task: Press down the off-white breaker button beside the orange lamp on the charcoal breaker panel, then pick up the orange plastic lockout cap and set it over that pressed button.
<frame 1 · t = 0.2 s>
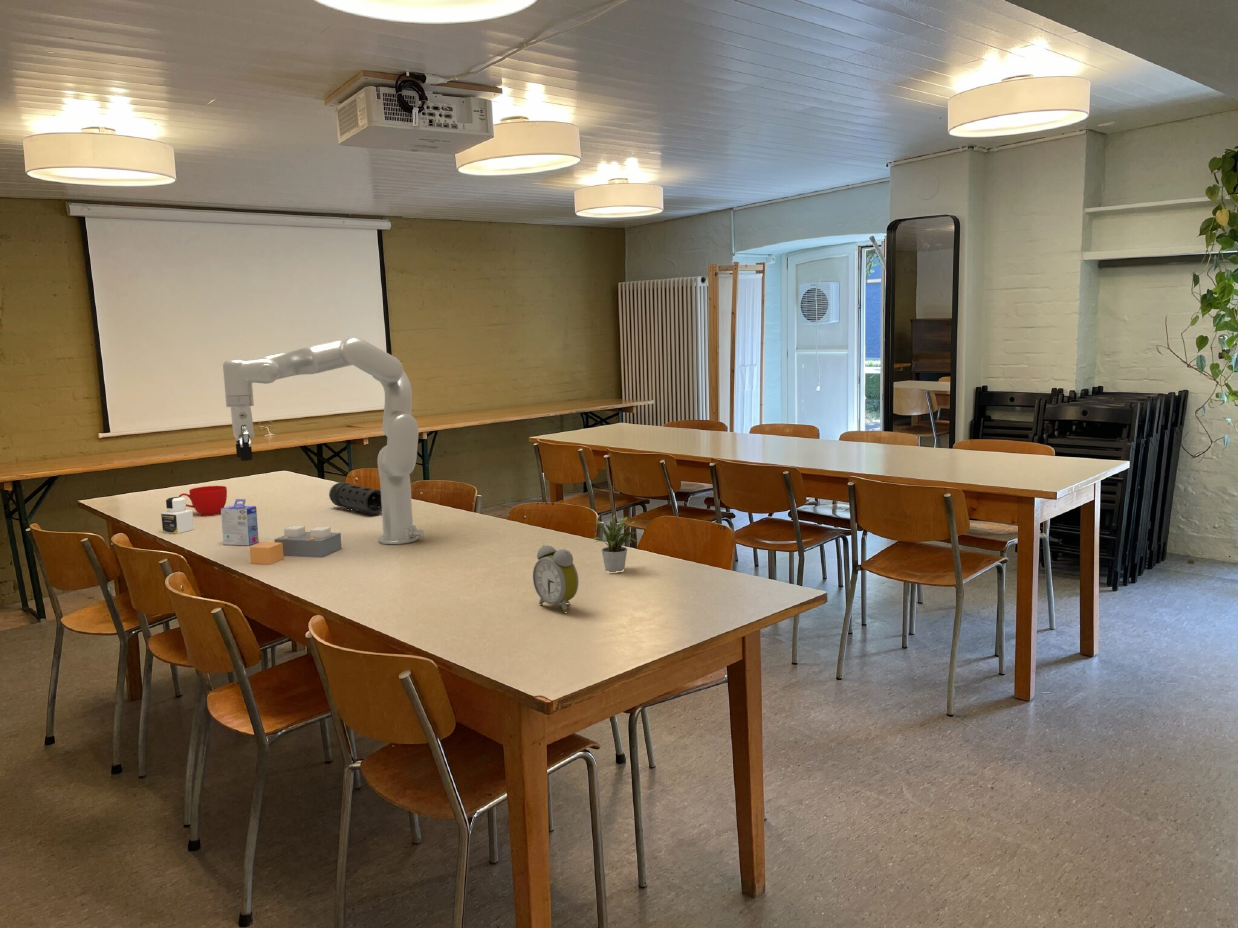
hand: (244, 458, 258), 31 cm above the table, tool pointing down, fingers open, 9 cm apart
medicine bottle: (178, 531, 303), on the table
house plant: (611, 572, 240), on the table
breaker panel: (309, 551, 270), on the table
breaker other: (295, 533, 270), point 6 cm above the table, slide at 0.0 cm
alarm clock: (558, 608, 209), on the table
ink cartridge box: (241, 544, 283), on the table
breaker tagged: (320, 534, 268), point 5 cm above the table, slide at 0.0 cm
ceramic cup: (204, 515, 332), on the table
muzzle brake: (357, 512, 332), on the table
lockout cap: (267, 561, 259), on the table
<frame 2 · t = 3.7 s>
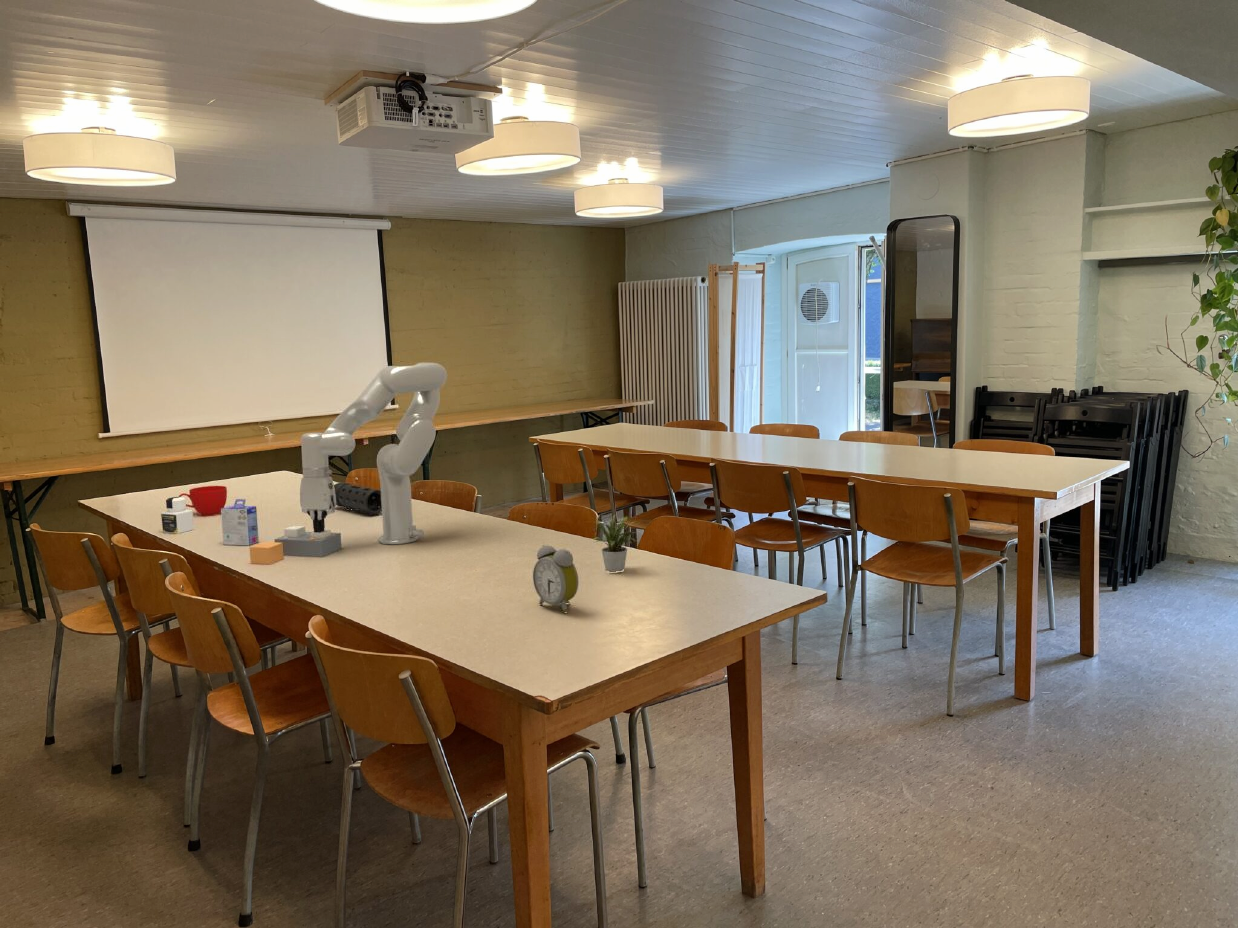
hand: (319, 531, 267), 7 cm above the table, tool pointing down, fingers closed
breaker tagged: (320, 537, 268), point 5 cm above the table, slide at 0.9 cm, touching gripper
everything else where it was.
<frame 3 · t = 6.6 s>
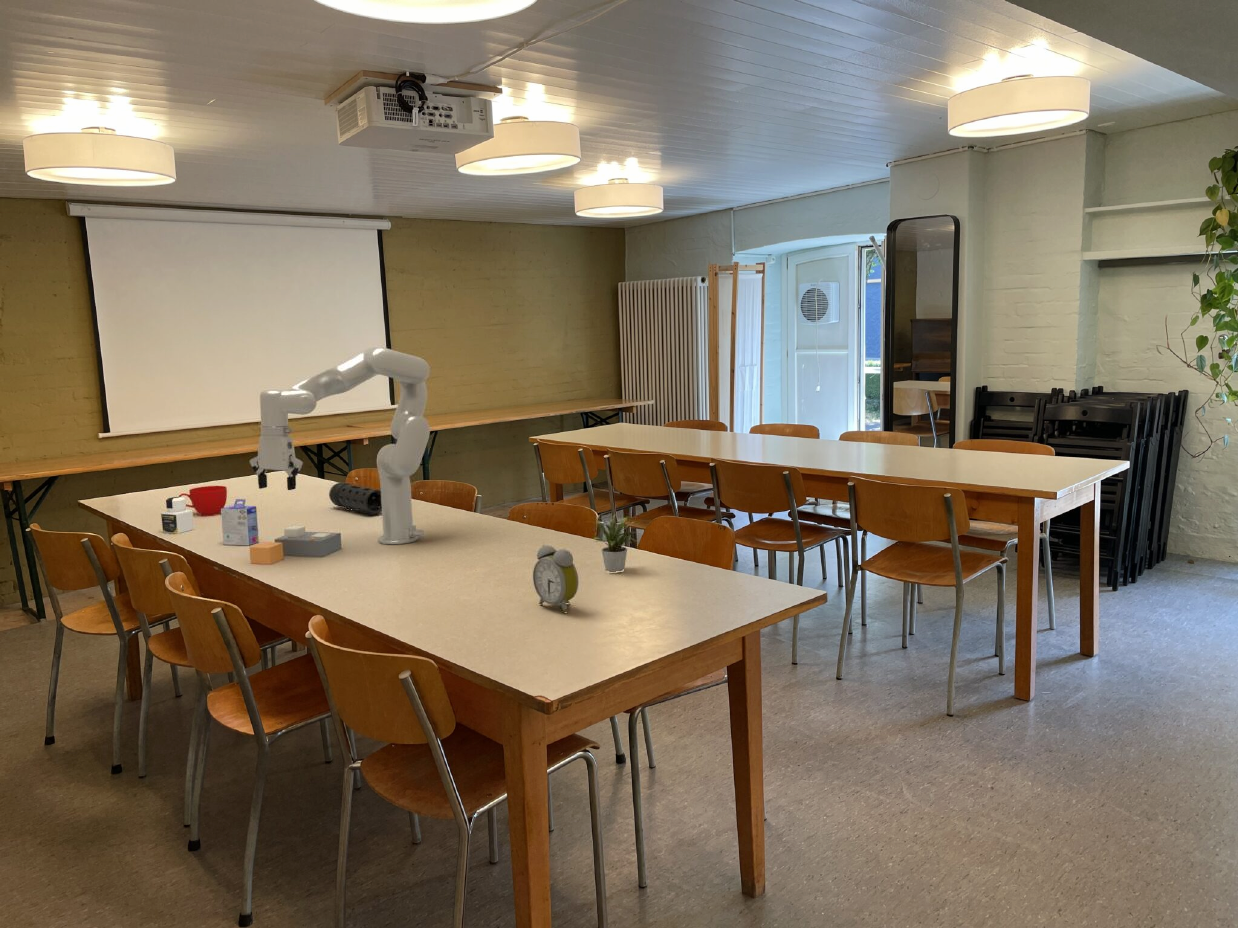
hand: (277, 488, 258), 22 cm above the table, tool pointing down, fingers open, 9 cm apart
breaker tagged: (321, 541, 268), point 4 cm above the table, slide at 2.0 cm
everything else where it was.
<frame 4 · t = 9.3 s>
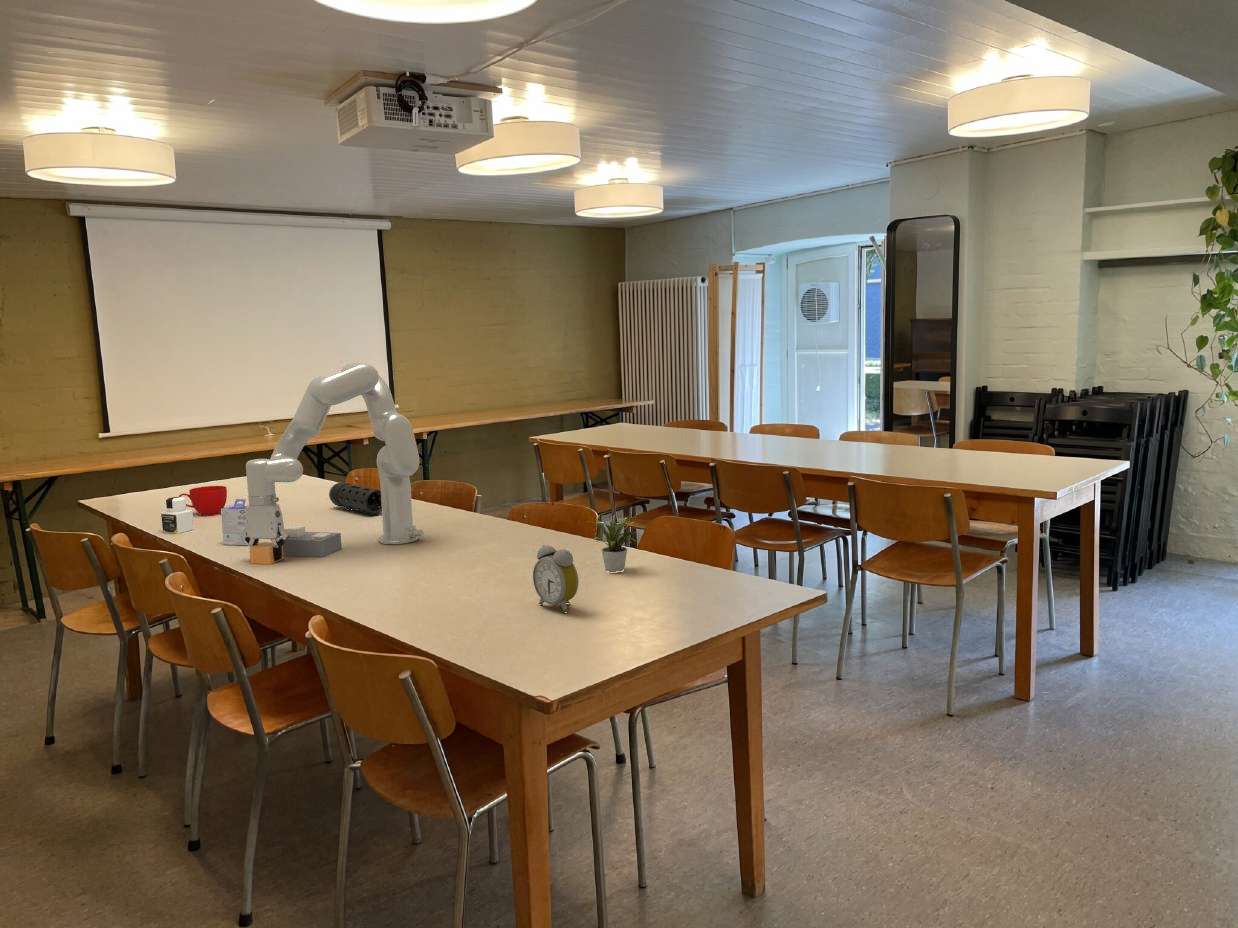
hand: (267, 558, 259), 1 cm above the table, tool pointing down, fingers closed on lockout cap, 6 cm apart
lockout cap: (267, 561, 259), on the table, touching gripper
everything else where it was.
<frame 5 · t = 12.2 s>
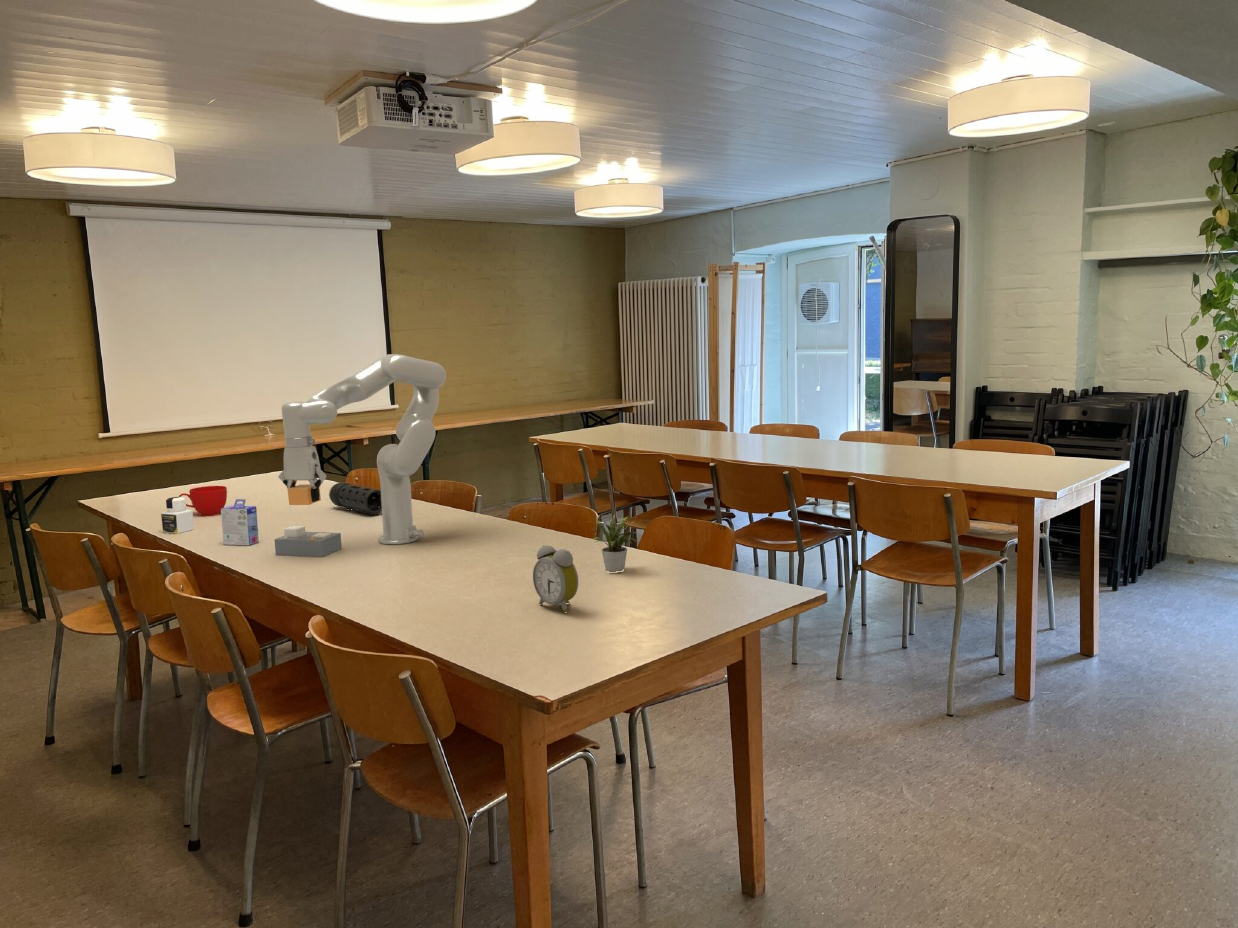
hand: (305, 500, 264), 17 cm above the table, tool pointing down, fingers closed on lockout cap, 6 cm apart
lockout cap: (305, 502, 264), point 16 cm above the table, touching gripper
everything else where it was.
when the fingers open (7 cm above the table, at t = 15.1 s): lockout cap drops 1 cm, resting on breaker panel.
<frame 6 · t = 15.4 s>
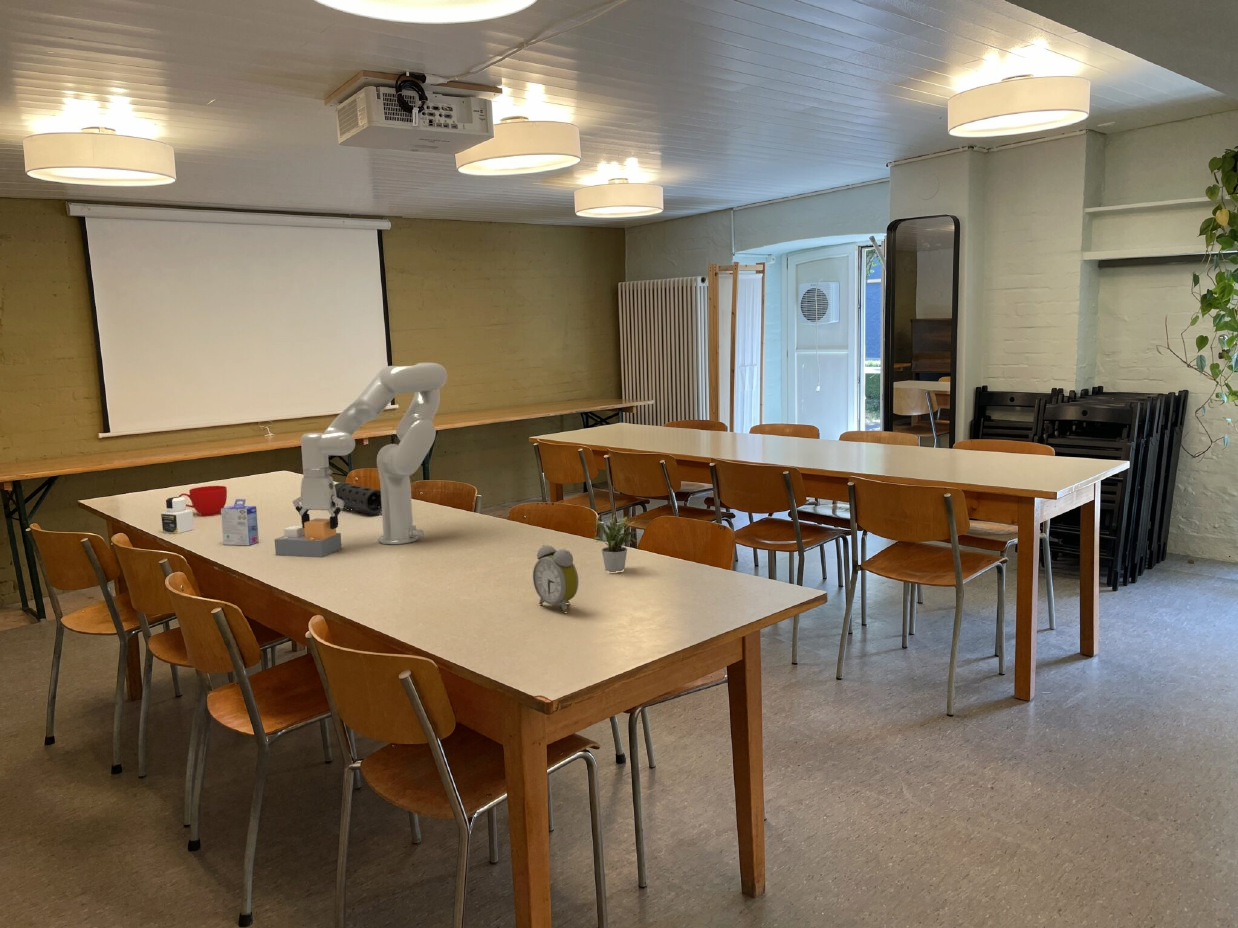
hand: (320, 527, 267), 8 cm above the table, tool pointing down, fingers open, 9 cm apart
lockout cap: (320, 536, 268), point 5 cm above the table, touching breaker panel
everything else where it was.
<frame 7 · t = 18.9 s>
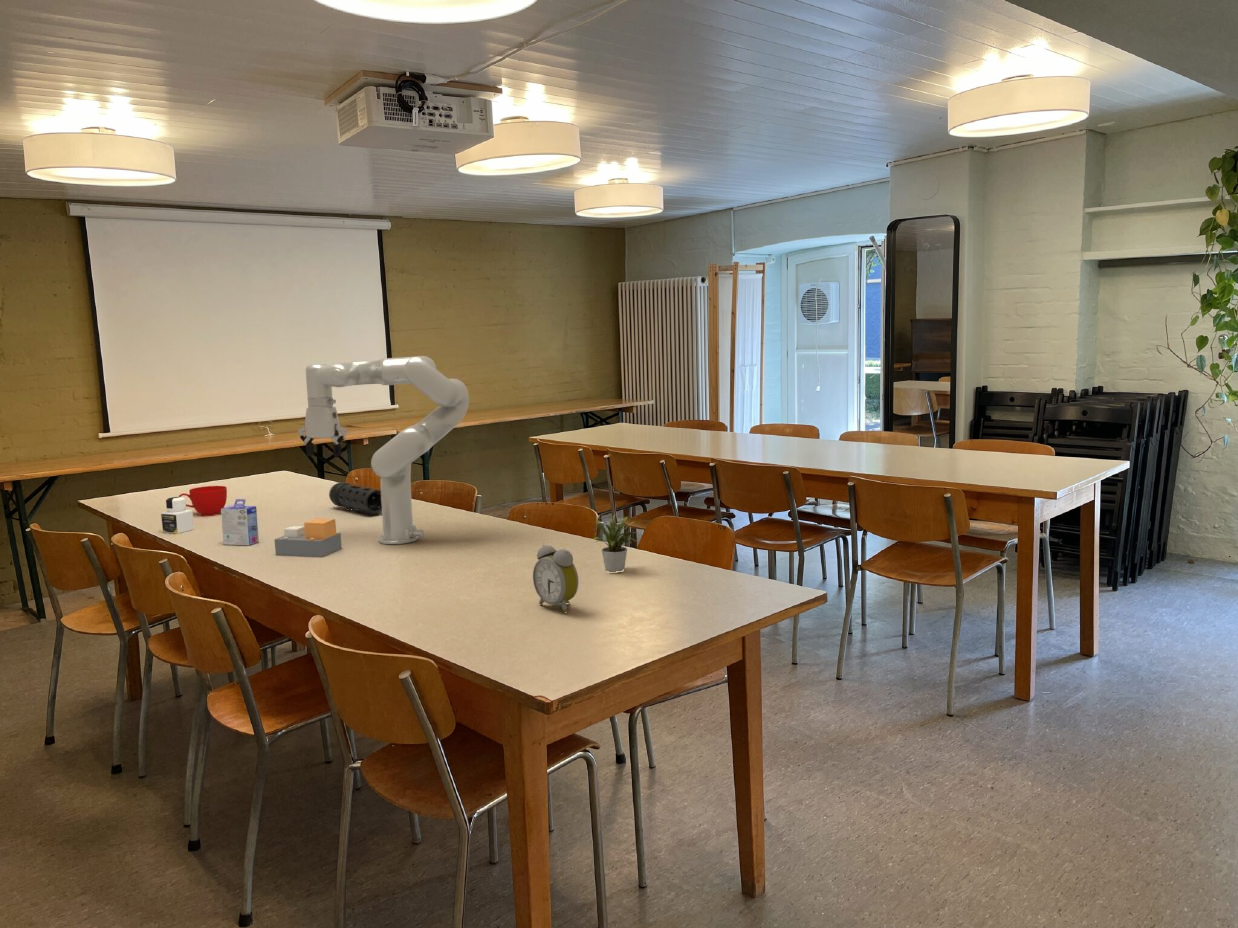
hand: (324, 456, 279), 28 cm above the table, tool pointing down, fingers open, 9 cm apart
nothing on the table moved.
at the end: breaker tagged slide at 2.0 cm; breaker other slide at 0.0 cm; lockout cap 0.0 cm from the target spot on the breaker panel, point 5.0 cm above the breaker panel's base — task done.
